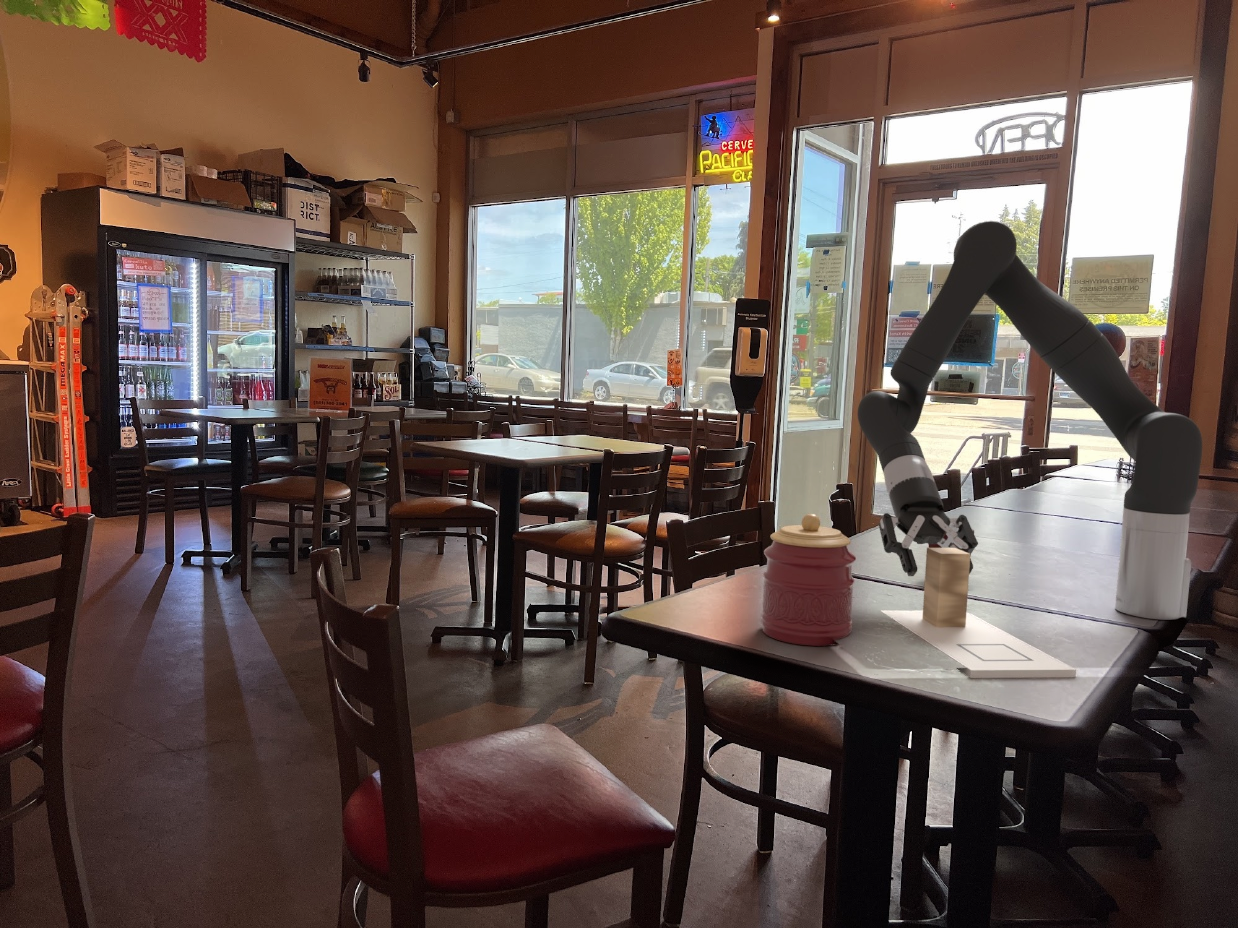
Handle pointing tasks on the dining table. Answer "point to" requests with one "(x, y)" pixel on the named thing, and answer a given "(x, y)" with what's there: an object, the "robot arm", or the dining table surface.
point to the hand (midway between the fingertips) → (940, 573)
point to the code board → (984, 648)
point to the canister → (808, 585)
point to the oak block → (946, 587)
